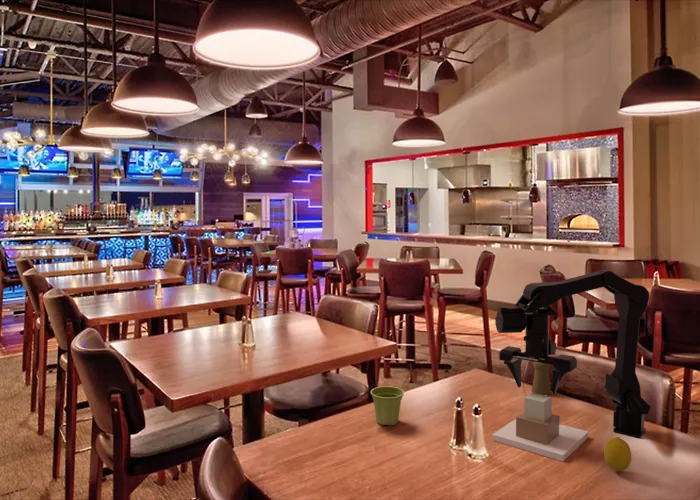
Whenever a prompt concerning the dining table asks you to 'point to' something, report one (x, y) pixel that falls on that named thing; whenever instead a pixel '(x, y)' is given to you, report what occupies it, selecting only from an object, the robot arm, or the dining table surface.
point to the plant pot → (387, 404)
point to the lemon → (617, 454)
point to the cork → (541, 379)
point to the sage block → (538, 407)
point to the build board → (545, 450)
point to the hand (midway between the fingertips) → (536, 390)
